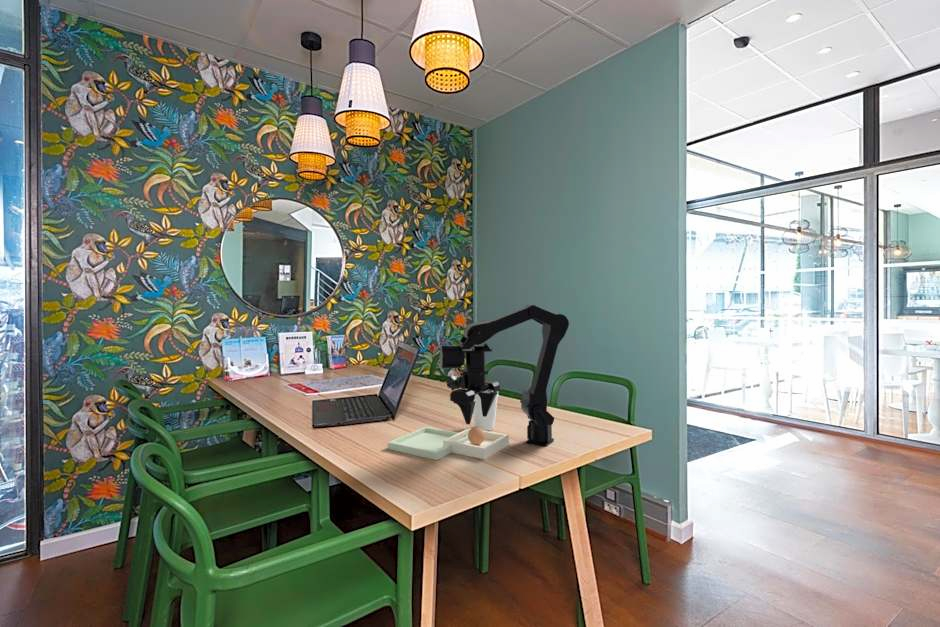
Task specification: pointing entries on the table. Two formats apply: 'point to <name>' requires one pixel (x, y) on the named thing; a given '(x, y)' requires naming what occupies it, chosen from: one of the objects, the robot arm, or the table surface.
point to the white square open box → (483, 450)
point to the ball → (476, 435)
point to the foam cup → (479, 419)
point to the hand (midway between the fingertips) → (476, 420)
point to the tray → (425, 443)
